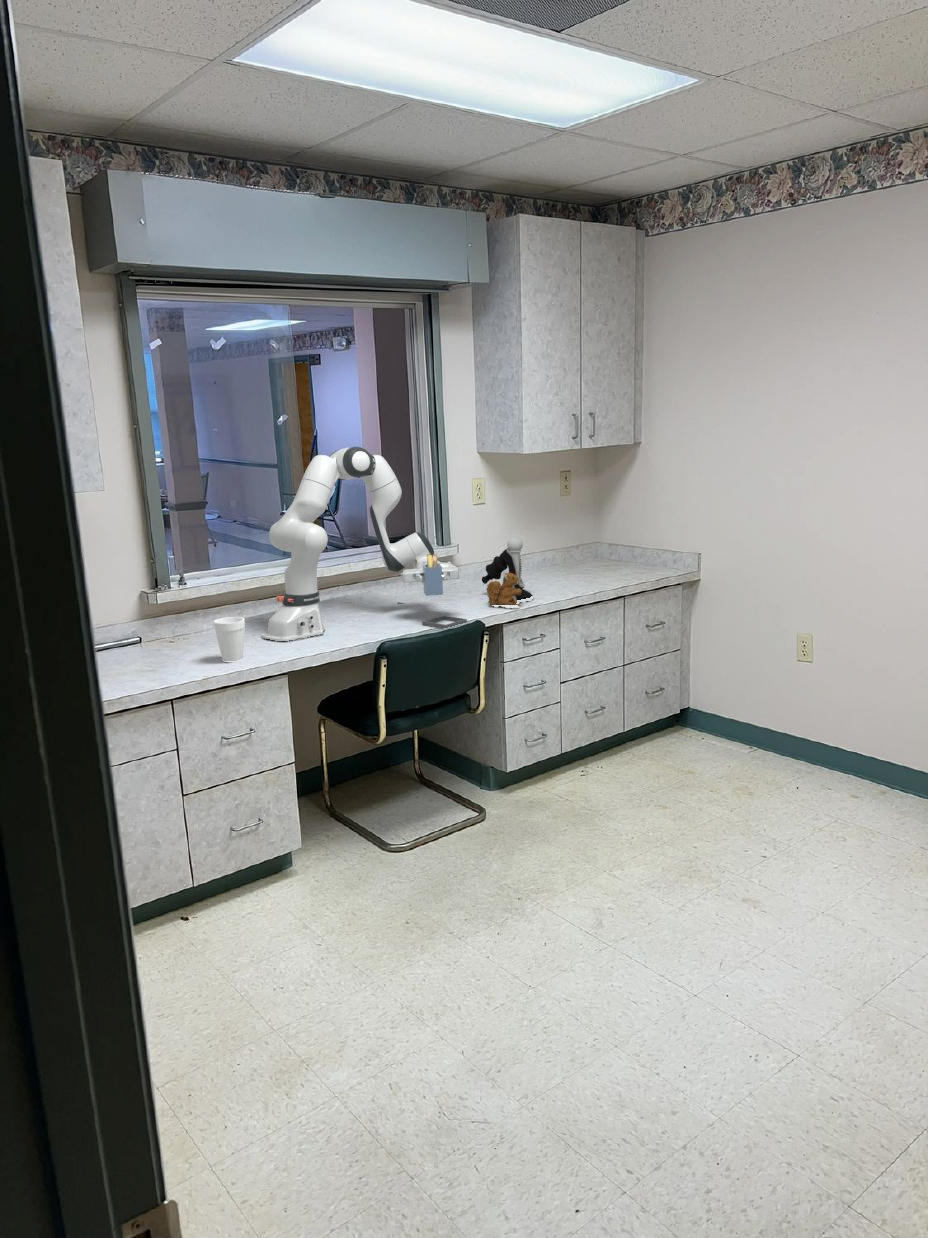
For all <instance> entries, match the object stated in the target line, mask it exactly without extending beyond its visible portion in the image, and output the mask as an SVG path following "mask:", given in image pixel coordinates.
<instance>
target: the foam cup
mask: <svg viewBox="0 0 928 1238" xmlns="http://www.w3.org/2000/svg"><path fill="white" fill-rule="evenodd" d="M213 627H214V628H213V629H214V630H215V635H216V638H217V643H218V649H219V652H220V655H221V657H220V658H221V660H222V661H223V660H224V661H237V660H240V659H242V658H243V659H244V647H245V645H244V643H245V628H246V620H245V618H244V617H241V616H228V617H227V616H226V617H220V618H217V619H215V620H213Z"/></svg>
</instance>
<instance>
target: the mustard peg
mask: <svg viewBox="0 0 928 1238" xmlns="http://www.w3.org/2000/svg"><path fill="white" fill-rule="evenodd" d="M428 567H432V555H428Z"/></svg>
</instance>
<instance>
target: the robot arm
mask: <svg viewBox="0 0 928 1238" xmlns="http://www.w3.org/2000/svg"><path fill="white" fill-rule="evenodd" d="M358 478H359V479H361V480H362V481H363V482H364V484H365V485H366V487H367V489H368V492H369V493H370V496H371V505H370V507H369V515H370V519H371V523H372V526H373V529H374V532H375V535H376V539H377V542H378V545H379V548H380V552H381V559H382V562H383V565H384V567H385V568H386V569H387V570H388V571H390V572H394V573H399V572H400V576H401V577H402V581H403V583H419V582H420V583H423V581H425V580H424V579H425V578H424V576H423V565H427V554H431V555H432V564H433V555H434V554H435V550H434V547H433V545H432V543H431V542H430V540H429V539H428V538H427V537H426V535H425V534H424V533H422V532H419V531H416V532H413V533H411V534H410V535H407V536H405V537H404V538H401V539H399V540H398V541H396V542H394V543H390V539H389V536H388V532H387V531H386V526H385V521H386V518H388V516H389V514H390V513H391V512H392V511H393V510H394V509H395V508H396V506H397V505H398V503H399V502H400V500H401V498H402V495H403V493H402V491H403V490H402V487H401V485H400V483H399V480H398V478H397V476H396V474H395V472H394V471H393V469H392V467H391V466H390V464H389V463H388V462H387V460H386V459H385V458H384V457H383V456H382V455H380V454H373V455H372V454H371V453H370V452H369V451H368V450H366V449H365V448H363V447H360V446H351V447H344V448H341V449H338V450H335V451H333V452H332V453H331V454H329V455H325V454H318V455H315V456H314V457H313V458H312V460H311V461H310V462H309V464H308V466H307V467H306V469H305V472H304V474H303V476H302V479H301V481H300V484H299V487H298V489H297V491H296V494H295V496H294V499H293V501H292V503H291V504H290V505H289V507H288V509H287V510H286V512H285V513H284V514H283V515H282V517H281V518H280V519H279V520H277V521H276V522H275V523H273V524H272V525H271V527H270V529H269V531H268V532H269V533H268V539H269V542H270V544H271V545H272V546H273V547H275V548H276V549H278V550H281V551H282V552H287V553H290V555H291V556H290V561H289V565H288V566H287V567H286V568H285V570H284V574H283V575H284V587H285V593H284V596H283V595H282V596H281V595H277V596H276V600H277V602H280V603H282V604H281V606H280V607H279V608H278V609H277V611H275V613H273V615H272V616H271V617H270V618H269V620H268V621H267V622H268V624H267V631H266V632H264V633H262V634H261V638H262V639H264V638H267V639H270V640H269V641H271V640H275V641H274V642H277V641H288V642H290V641H289V640H293V639H298V638H304V639H308V638H307V637H309V638H311V637H310V636H314V635H319V634H323V635H324V633H325V631H326V627H325V625H324V622H323V619H322V614H321V609H320V599H321V598H320V592H319V591H320V590H319V589H318V577H317V576H318V564H319V560H320V556H321V554H322V552H324V550H325V549H326V548H327V545H328V541H329V537H328V534H327V531H326V530H325V528H323V527H322V526H320V525H318V524H315V523H314V522H315V521H316V520H317V519H318V518H319V517H320V516H321V515H323V513H325V511H326V508H327V506H328V503H329V501H330V497H331V495H332V492H333V490H334V486H335V483H336V482H337V480H338V481H345V480H348V481H349V480H355V479H358ZM437 564H440V565H441V566H442V582H443V581H450V580H459V578H460V571H459V568H458V567H457V566H456V565H454V564H452V562H451V561H445V560H437ZM410 565H412V568H408V569H405V568H406V567H408V566H410ZM401 571H402V572H401ZM423 584H424V583H423ZM324 630H325V631H324ZM323 631H324V632H323ZM319 636H320V635H319ZM314 637H315V636H314ZM298 640H299V639H298ZM293 641H294V640H293Z"/></svg>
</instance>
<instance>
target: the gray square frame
mask: <svg viewBox="0 0 928 1238" xmlns="http://www.w3.org/2000/svg"><path fill="white" fill-rule="evenodd" d="M441 621H442V622H443V621H448V622H450V623H447V624H443V623H439V622H441ZM466 622H467V623H468V619H466V618H462V617H456V616H449V615H439V616H436V617H433V618H429V619H425V620H422V624H421V625H422V626H423V627H428V628H433V629H434V628H435V629H441V630H444V629H443V628H448V627H452V626H455V625H458V624H463V623H466Z"/></svg>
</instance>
